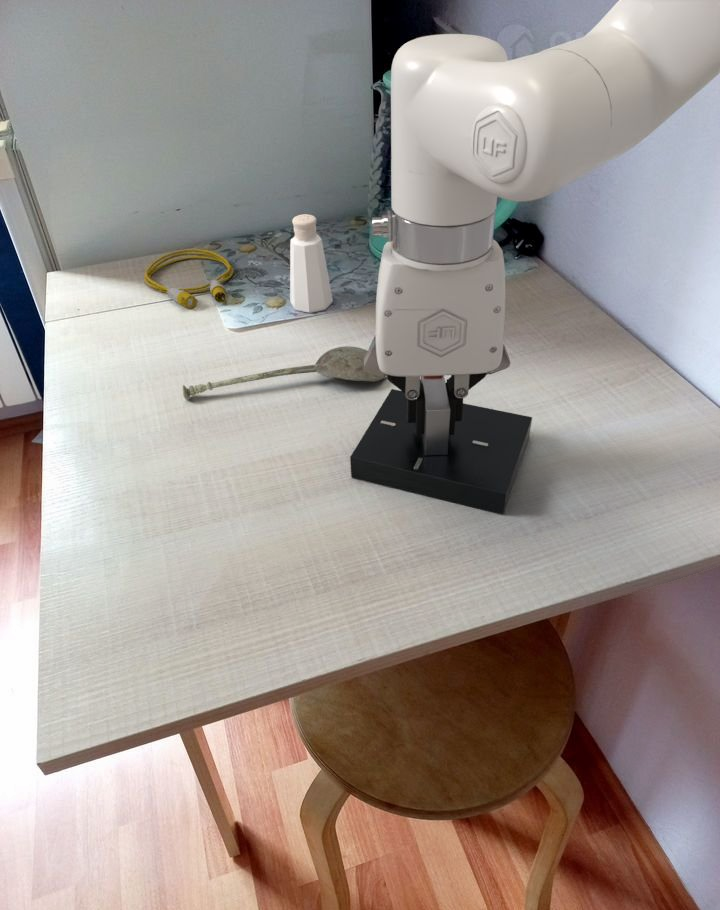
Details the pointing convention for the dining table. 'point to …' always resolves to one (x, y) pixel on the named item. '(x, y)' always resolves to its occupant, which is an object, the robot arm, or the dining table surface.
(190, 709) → the dining table surface
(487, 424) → the plate
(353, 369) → the soupspoon
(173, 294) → the extension cord
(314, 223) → the pepper shaker
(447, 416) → the tap handle
